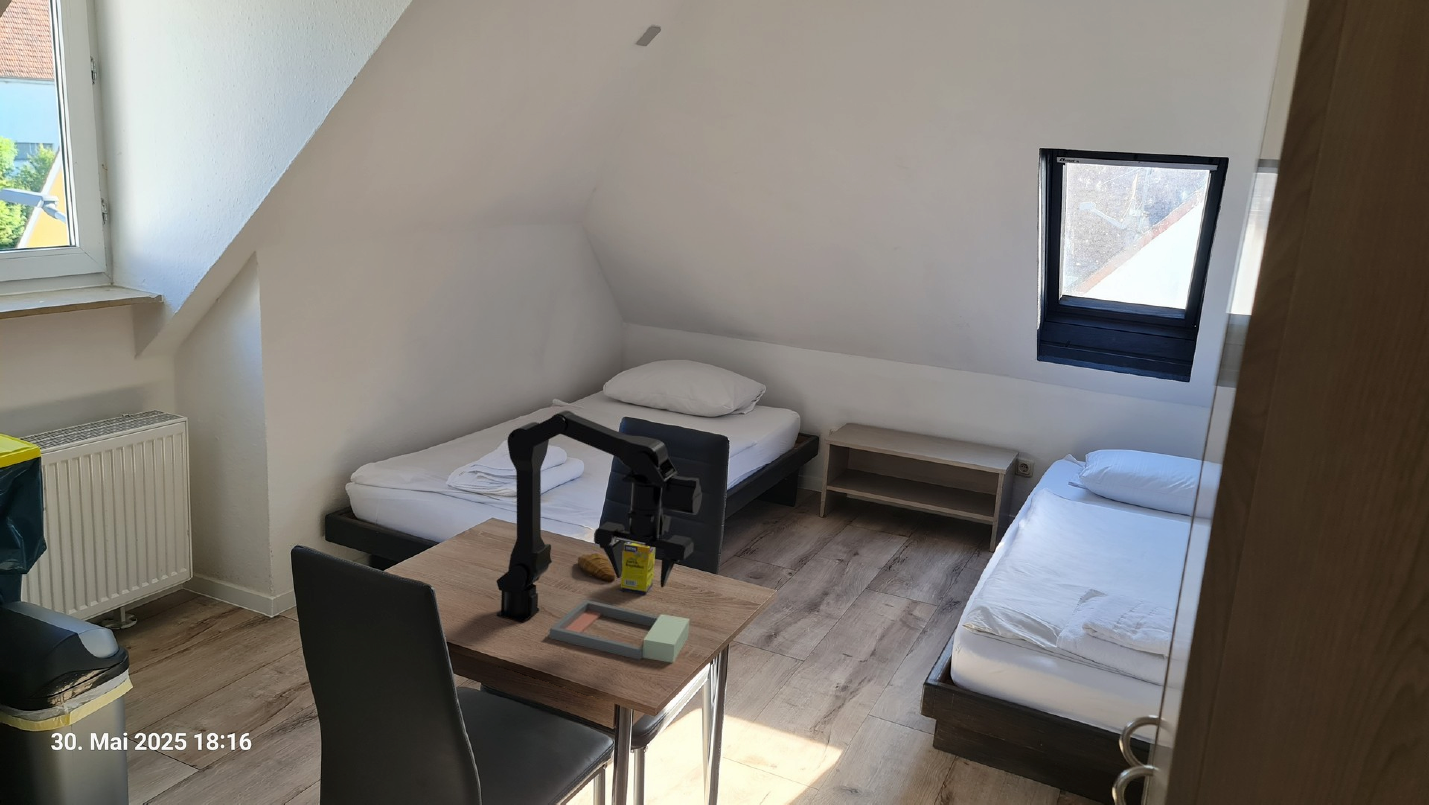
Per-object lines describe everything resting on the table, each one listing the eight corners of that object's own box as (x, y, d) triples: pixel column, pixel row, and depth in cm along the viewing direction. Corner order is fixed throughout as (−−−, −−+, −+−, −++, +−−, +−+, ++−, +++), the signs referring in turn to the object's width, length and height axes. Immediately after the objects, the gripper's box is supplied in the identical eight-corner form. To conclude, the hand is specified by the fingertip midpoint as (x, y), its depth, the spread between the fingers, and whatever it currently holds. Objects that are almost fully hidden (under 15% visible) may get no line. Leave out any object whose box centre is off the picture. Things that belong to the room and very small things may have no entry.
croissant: (566, 566, 228) (567, 546, 227) (591, 561, 233) (592, 541, 232) (598, 587, 218) (600, 566, 217) (624, 581, 223) (625, 560, 222)
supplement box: (646, 595, 216) (649, 548, 213) (620, 591, 217) (623, 544, 214) (653, 585, 221) (656, 539, 219) (627, 581, 222) (630, 535, 220)
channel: (549, 638, 192) (549, 628, 192) (584, 608, 206) (585, 599, 206) (640, 660, 186) (640, 650, 186) (670, 628, 200) (670, 619, 200)
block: (642, 659, 187) (643, 639, 187) (659, 632, 199) (660, 614, 198) (673, 664, 186) (674, 644, 185) (688, 637, 198) (689, 619, 197)
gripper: (706, 502, 193) (700, 577, 197) (618, 486, 199) (614, 559, 202) (685, 519, 183) (679, 597, 186) (594, 501, 189) (590, 578, 192)
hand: (640, 582), depth 192 cm, fingers open, 9 cm apart
